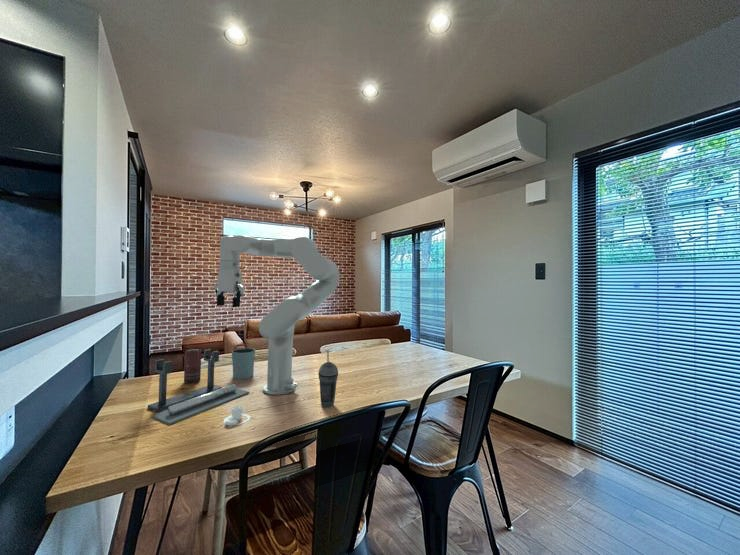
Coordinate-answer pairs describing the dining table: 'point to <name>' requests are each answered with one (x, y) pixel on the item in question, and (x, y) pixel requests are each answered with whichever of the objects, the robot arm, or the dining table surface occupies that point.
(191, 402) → the steel rail
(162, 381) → the hook stands
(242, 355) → the teal tapered cup
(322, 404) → the beverage cup
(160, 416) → the rubber mat
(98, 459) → the dining table surface
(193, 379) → the can
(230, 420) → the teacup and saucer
